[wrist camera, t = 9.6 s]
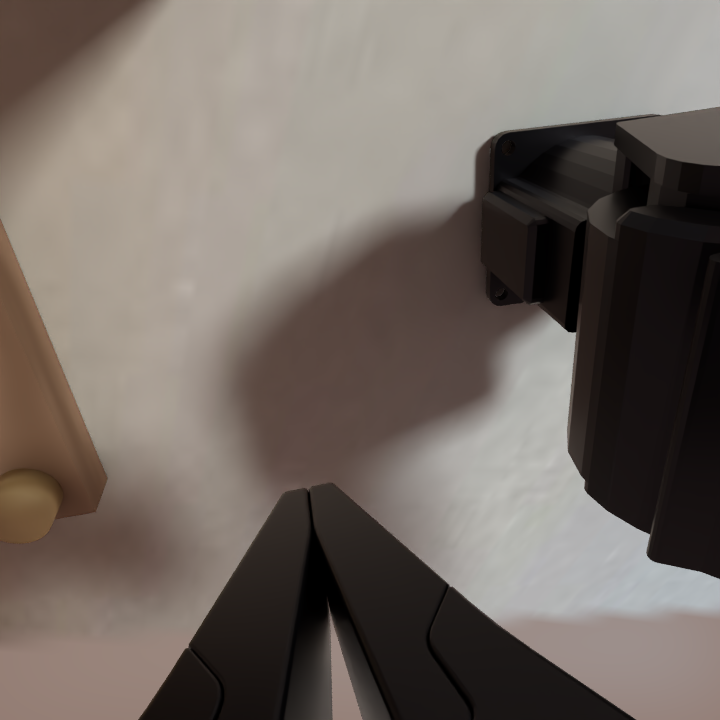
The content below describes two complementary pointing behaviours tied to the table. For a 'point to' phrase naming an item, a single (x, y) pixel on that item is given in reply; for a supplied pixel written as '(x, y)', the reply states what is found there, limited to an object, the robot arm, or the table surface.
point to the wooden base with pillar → (37, 421)
